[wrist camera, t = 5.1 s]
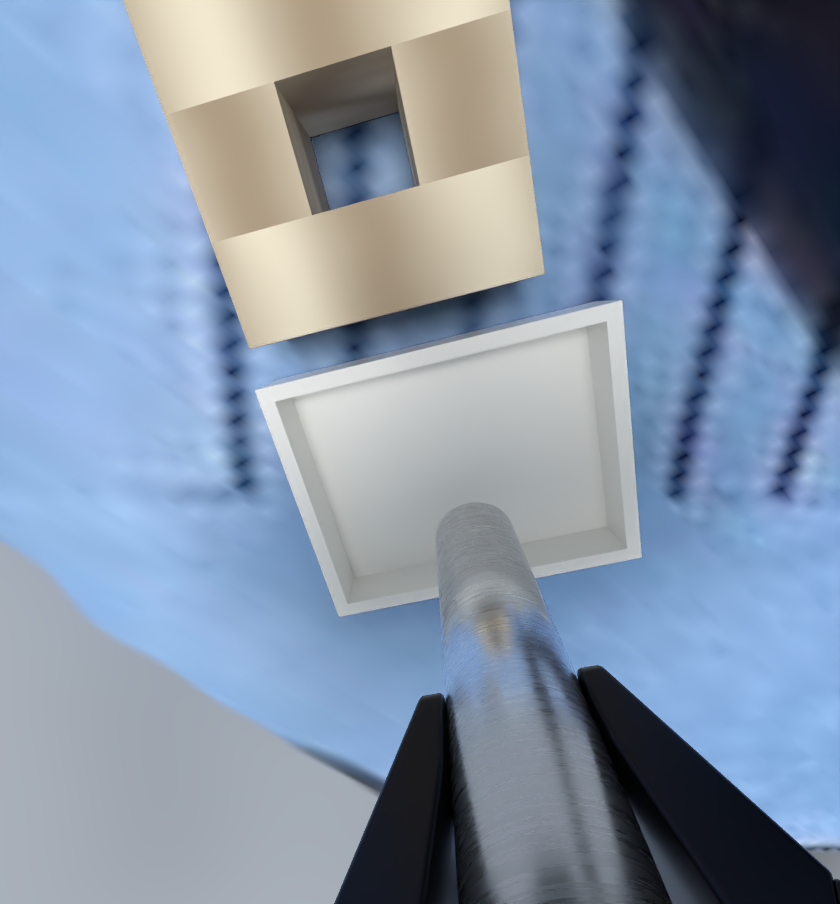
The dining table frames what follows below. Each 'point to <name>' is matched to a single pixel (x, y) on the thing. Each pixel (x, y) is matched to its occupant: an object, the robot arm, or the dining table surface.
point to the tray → (463, 451)
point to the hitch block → (334, 107)
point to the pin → (525, 739)
